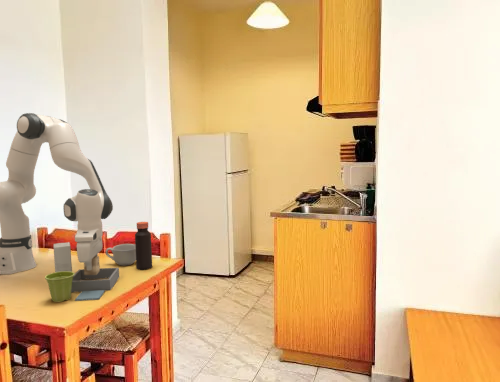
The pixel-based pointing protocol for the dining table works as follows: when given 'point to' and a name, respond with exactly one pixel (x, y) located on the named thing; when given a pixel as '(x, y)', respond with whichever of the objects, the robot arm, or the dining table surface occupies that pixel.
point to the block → (95, 267)
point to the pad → (90, 295)
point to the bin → (95, 284)
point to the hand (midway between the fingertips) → (91, 267)
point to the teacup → (123, 254)
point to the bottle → (143, 246)
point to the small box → (62, 257)
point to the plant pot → (60, 285)
